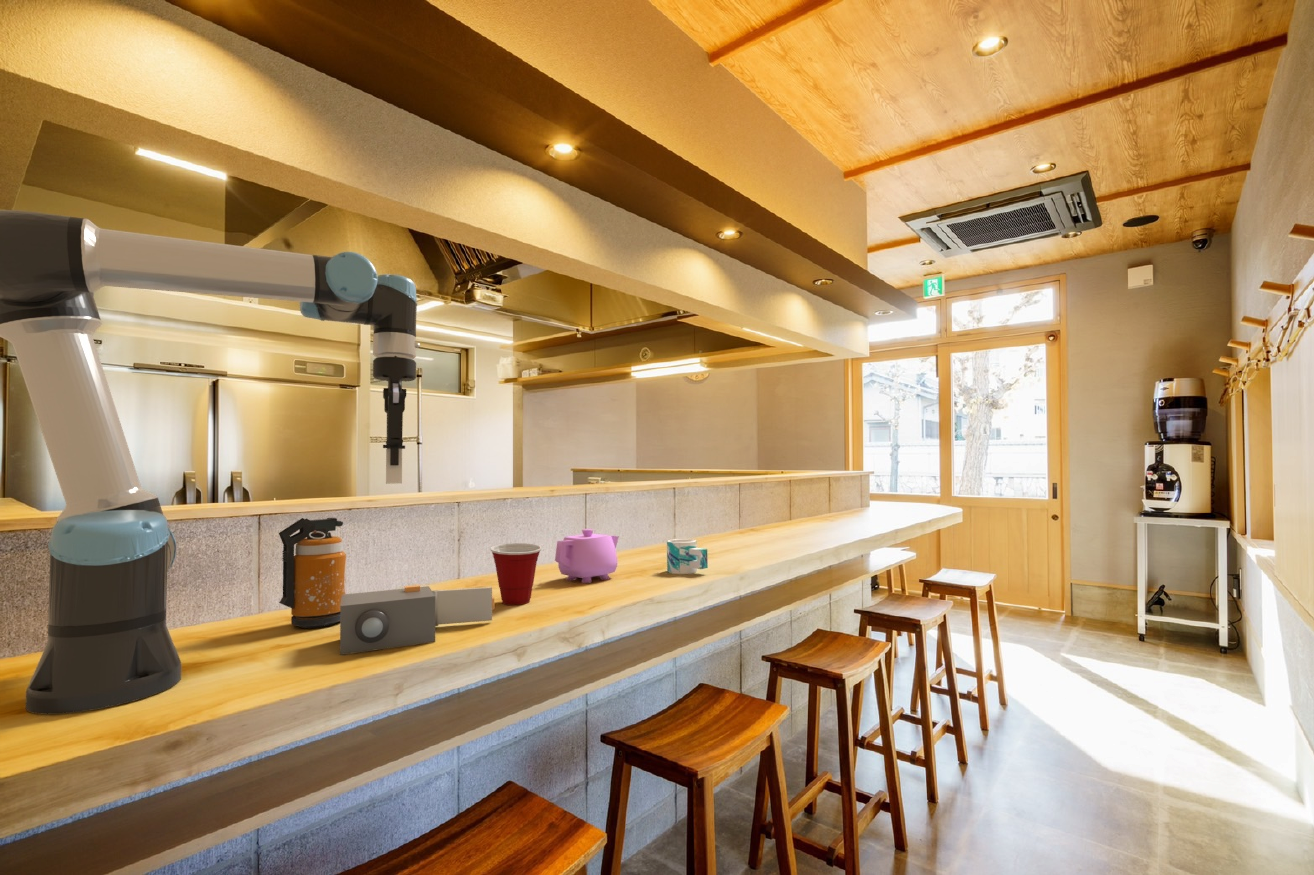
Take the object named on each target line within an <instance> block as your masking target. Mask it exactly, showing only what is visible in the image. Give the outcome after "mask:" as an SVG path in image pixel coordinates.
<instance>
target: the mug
mask: <svg viewBox="0 0 1314 875" xmlns="http://www.w3.org/2000/svg"><path fill="white" fill-rule="evenodd" d="M666 564H667V565H666V567H667V568H666V569H667V570H666V572H667V573H668V572H669V574H671V573H672V574H674V575H690V574H694V573H695V572H696V573H697V572H698V570H705V569H708V549H707V548H699V547H698V543H697V539H692V538H674V539H668V540H667V541H666Z"/></svg>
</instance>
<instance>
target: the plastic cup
mask: <svg viewBox="0 0 1314 875" xmlns="http://www.w3.org/2000/svg"><path fill="white" fill-rule="evenodd" d="M542 548H543V547H542V546H541V545H540V544H535V543H525V542H524V543H523V542H521V543H519V542H513V543H511V542H510V543H501V544H500V543H499V544H496V545H493V546H491V547H490V549H489V550H490V552H491V553H492V557H493V561H494V562H493V563H494V564H495V565H494V566H495V572H496V577H497V582H498V588H499V592H500V597H501V602H502V604H503V605H507V606H518V605H519V606H520V605H525V604H529V603H530V602H531V598H532V593H533V586H534V581H535V575H536V569H537V562H538V558H539V556H540V552H541V551H542Z"/></svg>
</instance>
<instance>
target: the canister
mask: <svg viewBox="0 0 1314 875" xmlns="http://www.w3.org/2000/svg"><path fill="white" fill-rule="evenodd" d="M343 525H344V522H343V521H341V520H338V519H337V517H327V518H322V519H308V518H307V517H306V518H303V517H302V518H300V519H298V520H297V521H295V522H294V523H292V524H291V525H289V526H287V527H286V528H285V529H283V530H281V531H280V532H278V535H279V538H280V541H281V542H282V546H283V547H282V548H283V549H282V554H281V555H282V558H281V559H282V598H281V599H280V600H279V604H280V605H282V606H285V607H288V608H291V609H290V610H291V615H292V616H291V620H290V624H291V625H292V626H296V627H300V628H302V629H316V628H325V627H328V626H333V625H336V624H337V623H339V622H340V605H341V596H342V595H343V594H347V553H346V552H344V541H343V540H342V538H341V537H339V536H335V535H334V536H332V534H331V532H333V531H334V532H336V531H337V530H336V529H337V527H338V528H339V527H342V526H343Z"/></svg>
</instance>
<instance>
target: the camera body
mask: <svg viewBox="0 0 1314 875" xmlns="http://www.w3.org/2000/svg"><path fill="white" fill-rule="evenodd" d="M432 591H433V590H432V589H431V587H430V586H429V585H428V586H427V585H426V586H421V585H420V584H413V585H412V584H411V585H405V586H404V588H396V589H387V590H377V591H376V590H375V591H367V592H366V591H363V592H354V593H346V594H343V595H342V596H341V605H340V621H339V624H340V625H339V626H340V628H339V629H340V630H339V631H340V632H339V656H341V655H342V656H343V655H349V654H356V653H364V652H370V651H378V650H386V649H387V650H388V649H393V648H399V647H407V646H409V647H410V646H415V645H416V646H417V645H422V644H423V645H424V644H429V643H436V626H435V595H434V593H433V592H432Z"/></svg>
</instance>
